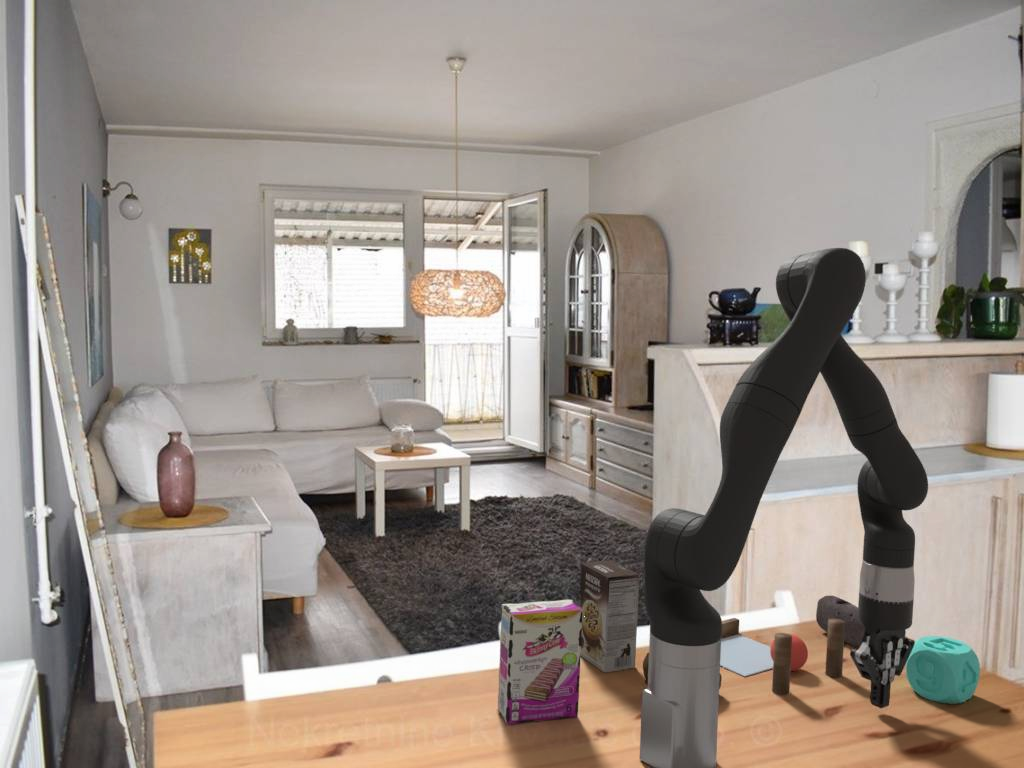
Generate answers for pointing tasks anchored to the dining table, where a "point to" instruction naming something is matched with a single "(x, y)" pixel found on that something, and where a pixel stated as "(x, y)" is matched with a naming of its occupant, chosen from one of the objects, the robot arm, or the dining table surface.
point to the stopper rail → (730, 627)
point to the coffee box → (609, 615)
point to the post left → (782, 663)
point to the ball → (795, 653)
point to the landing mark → (745, 655)
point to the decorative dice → (943, 669)
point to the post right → (835, 648)
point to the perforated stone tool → (840, 618)
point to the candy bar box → (539, 661)
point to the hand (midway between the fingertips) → (879, 705)
